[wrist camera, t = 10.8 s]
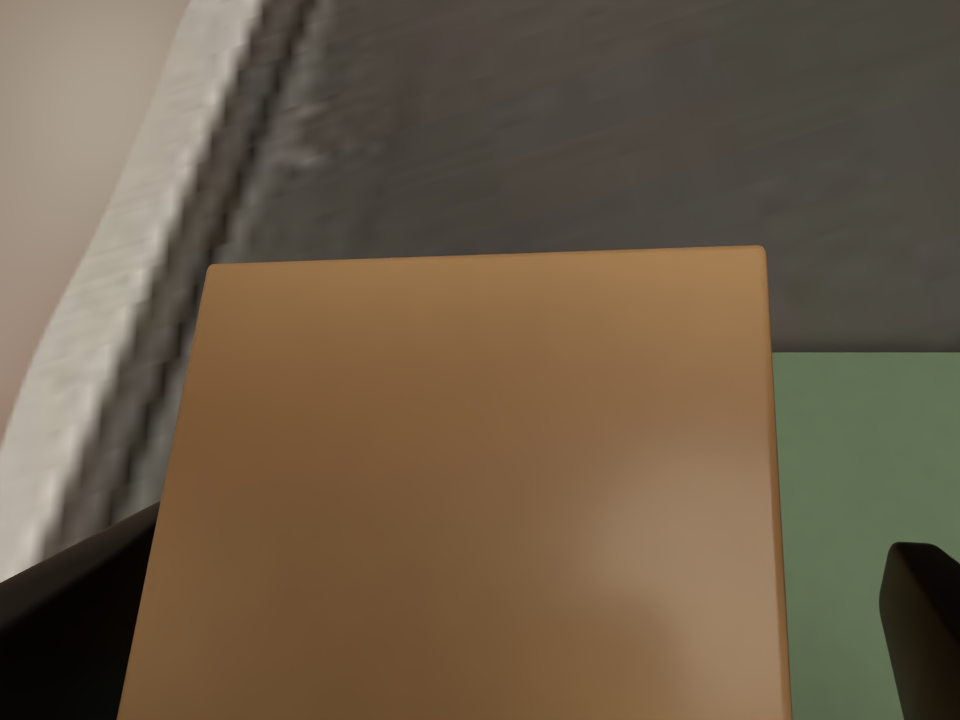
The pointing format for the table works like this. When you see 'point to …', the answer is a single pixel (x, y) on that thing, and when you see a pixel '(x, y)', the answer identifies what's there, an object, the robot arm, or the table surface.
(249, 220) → the table surface
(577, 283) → the maple block
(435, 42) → the table surface
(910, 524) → the green mat
